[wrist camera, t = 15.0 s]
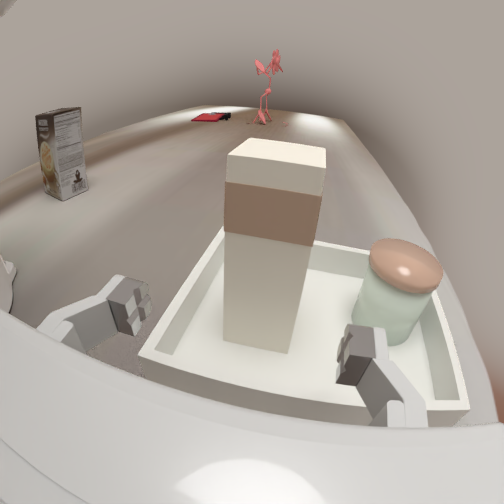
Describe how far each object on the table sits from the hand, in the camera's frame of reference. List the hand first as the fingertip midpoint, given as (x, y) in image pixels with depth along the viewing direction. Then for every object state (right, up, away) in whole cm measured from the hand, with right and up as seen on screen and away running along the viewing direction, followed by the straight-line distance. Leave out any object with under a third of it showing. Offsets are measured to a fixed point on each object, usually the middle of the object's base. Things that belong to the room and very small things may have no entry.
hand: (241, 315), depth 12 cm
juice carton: (+1, -3, +13) cm, 13 cm away
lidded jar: (+12, -4, +13) cm, 18 cm away
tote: (+6, -5, +13) cm, 15 cm away
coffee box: (-35, +14, +37) cm, 53 cm away
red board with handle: (-17, +66, +121) cm, 139 cm away
